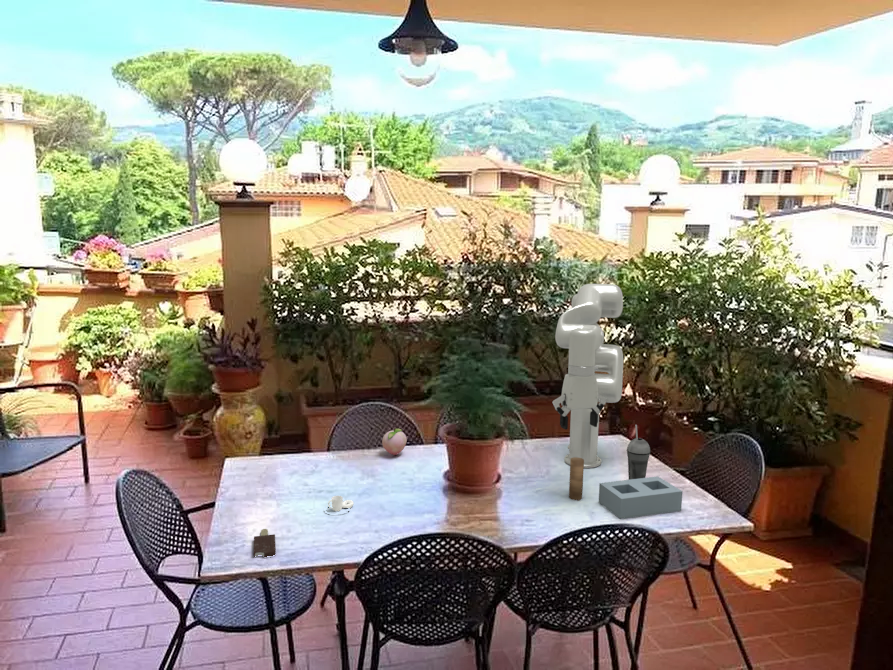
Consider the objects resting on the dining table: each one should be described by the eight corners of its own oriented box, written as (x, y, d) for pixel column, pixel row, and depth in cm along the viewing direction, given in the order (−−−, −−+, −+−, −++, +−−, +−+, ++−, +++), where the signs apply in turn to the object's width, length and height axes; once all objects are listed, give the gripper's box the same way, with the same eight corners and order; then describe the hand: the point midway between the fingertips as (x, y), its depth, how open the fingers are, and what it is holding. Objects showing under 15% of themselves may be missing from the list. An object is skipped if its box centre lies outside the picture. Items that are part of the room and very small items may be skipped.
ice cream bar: (254, 533, 178) (253, 560, 163) (254, 527, 177) (253, 554, 163) (274, 531, 179) (275, 558, 165) (274, 525, 179) (275, 552, 165)
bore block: (598, 502, 199) (599, 483, 198) (656, 494, 205) (657, 476, 204) (620, 519, 188) (621, 498, 187) (681, 510, 194) (682, 491, 193)
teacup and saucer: (353, 504, 197) (352, 491, 196) (355, 515, 189) (355, 502, 189) (322, 506, 195) (322, 493, 195) (323, 518, 188) (323, 504, 187)
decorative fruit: (387, 449, 243) (387, 423, 242) (409, 452, 241) (409, 425, 240) (378, 458, 234) (378, 430, 233) (400, 460, 232) (400, 433, 231)
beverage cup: (649, 491, 208) (653, 429, 204) (625, 489, 209) (628, 427, 206) (647, 482, 215) (651, 422, 211) (623, 480, 216) (627, 420, 213)
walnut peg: (566, 495, 204) (568, 458, 202) (578, 494, 205) (579, 456, 203) (572, 500, 200) (574, 462, 198) (584, 499, 201) (586, 461, 199)
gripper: (600, 366, 202) (598, 421, 205) (548, 369, 197) (546, 425, 200) (614, 371, 195) (611, 428, 198) (560, 374, 190) (558, 433, 193)
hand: (578, 427), depth 199 cm, fingers open, 9 cm apart
